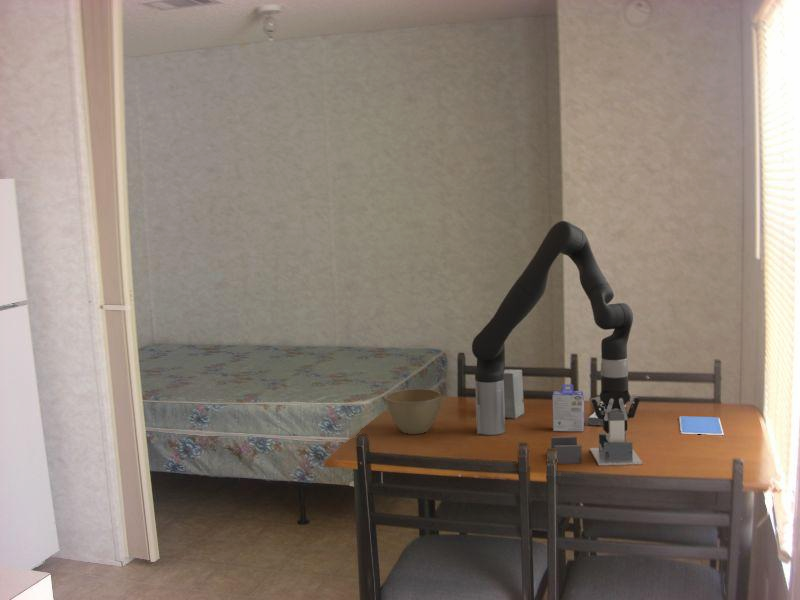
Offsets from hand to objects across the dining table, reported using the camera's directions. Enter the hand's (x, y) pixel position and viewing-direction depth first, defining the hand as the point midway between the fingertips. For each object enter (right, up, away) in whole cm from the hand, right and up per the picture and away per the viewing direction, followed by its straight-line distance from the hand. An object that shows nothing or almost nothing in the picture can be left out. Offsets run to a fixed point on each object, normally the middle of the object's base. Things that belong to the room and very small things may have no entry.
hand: (615, 432), depth 232 cm
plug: (0, -3, 0) cm, 3 cm away
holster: (-14, -8, +2) cm, 16 cm away
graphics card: (+9, -3, +42) cm, 43 cm away
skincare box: (-23, -3, +50) cm, 55 cm away
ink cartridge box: (-7, -4, +30) cm, 31 cm away
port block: (0, -7, +1) cm, 7 cm away
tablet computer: (+34, -3, +27) cm, 44 cm away
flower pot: (-57, -6, +36) cm, 68 cm away
